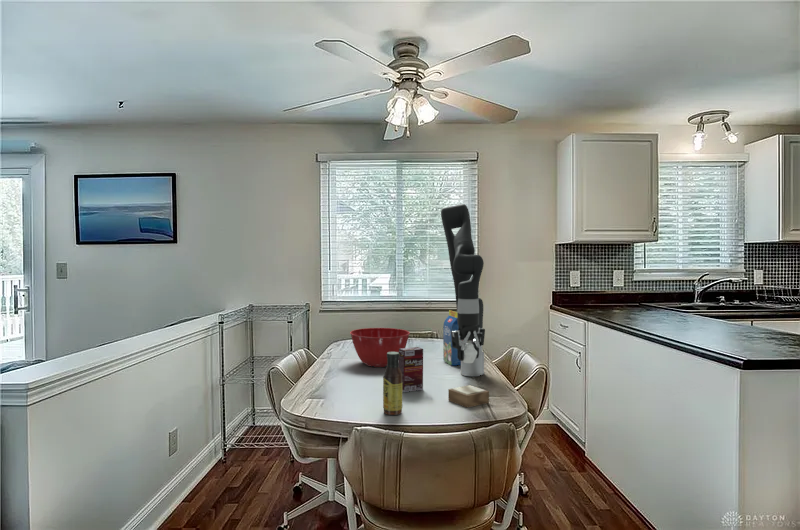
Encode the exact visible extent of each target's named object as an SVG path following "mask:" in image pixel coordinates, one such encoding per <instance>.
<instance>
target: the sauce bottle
mask: <svg viewBox="0 0 800 530" xmlns="http://www.w3.org/2000/svg"><path fill="white" fill-rule="evenodd" d="M382 377H383V378H382V379H383V380H382V381H383V387H382V388H383V389H382V390H383V391H382V395H383V396H382V400H383V402H382V403H383V405H382V407H383V413H384V414H386V415H387V416H396V415H397V416H398V415H401V413H402V411H403V410H402V409H403V392H402V372H401V370H400V368H399V352H388V353H387V367H385V370H384V373H383V376H382Z"/></svg>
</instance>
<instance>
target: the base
mask: <svg viewBox="0 0 800 530" xmlns="http://www.w3.org/2000/svg"><path fill="white" fill-rule="evenodd" d="M448 400H449V402H451V403H454V404H457V405H459V406H462V407H465V408H471V407H476V406H481V405H484V404H485V405H486V404H489V403H490V391H489V390H486V389H483V388H480V387H476V386H473V385H470V384H468V385H463V386H459V387H458V386H457V387H453V388H448Z"/></svg>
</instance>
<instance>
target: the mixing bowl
mask: <svg viewBox="0 0 800 530" xmlns="http://www.w3.org/2000/svg"><path fill="white" fill-rule="evenodd" d="M410 333H411V332H410V331H409V330H406V329H401V328H392V327H368V328H367V327H366V328H358V329H352V330H351V331H350V332H349V334H350V336H351V341H352V345H353V347H354V350H355V352H356V354H357V356H358V358H359V360H360V361H361V362H362V363H364V364H365V365H366V366H368V367H372V366H374V368H386V367H385V366H387V353H388V352H399V349H402V348H407V347H406V346H407V343H408V340H409V337H410Z"/></svg>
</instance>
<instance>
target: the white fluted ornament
mask: <svg viewBox="0 0 800 530" xmlns="http://www.w3.org/2000/svg"><path fill="white" fill-rule="evenodd" d="M463 350H464V360H463V362H464V363H473V362H474V360H475V358H476V355H477V351H476V350H475V348H474V346H473V344H471V343H466V344H465V346H464V349H463Z"/></svg>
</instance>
